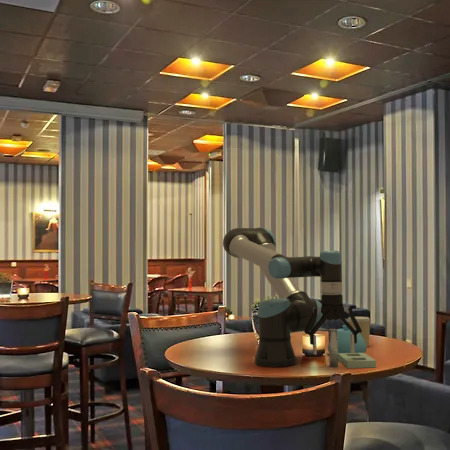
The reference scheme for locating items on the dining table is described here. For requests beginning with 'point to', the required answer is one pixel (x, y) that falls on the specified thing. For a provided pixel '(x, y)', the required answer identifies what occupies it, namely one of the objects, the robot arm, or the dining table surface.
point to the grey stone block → (333, 347)
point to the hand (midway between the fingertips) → (333, 353)
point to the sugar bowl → (345, 341)
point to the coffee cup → (362, 327)
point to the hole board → (356, 360)
